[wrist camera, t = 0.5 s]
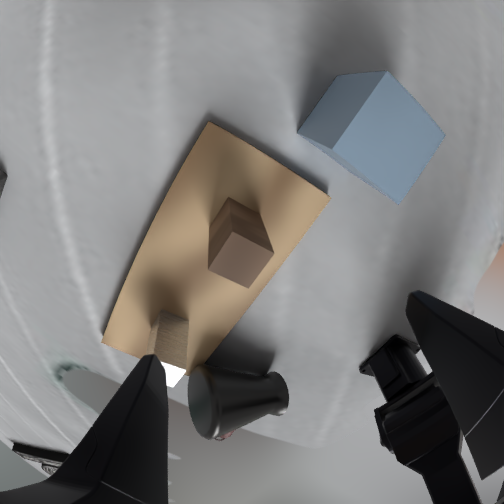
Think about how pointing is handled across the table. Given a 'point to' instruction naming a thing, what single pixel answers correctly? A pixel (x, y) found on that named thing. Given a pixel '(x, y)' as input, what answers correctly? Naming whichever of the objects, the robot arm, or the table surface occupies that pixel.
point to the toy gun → (2, 181)
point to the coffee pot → (232, 399)
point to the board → (196, 244)
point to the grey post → (170, 344)
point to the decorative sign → (41, 457)
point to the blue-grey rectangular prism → (374, 131)
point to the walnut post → (238, 244)
